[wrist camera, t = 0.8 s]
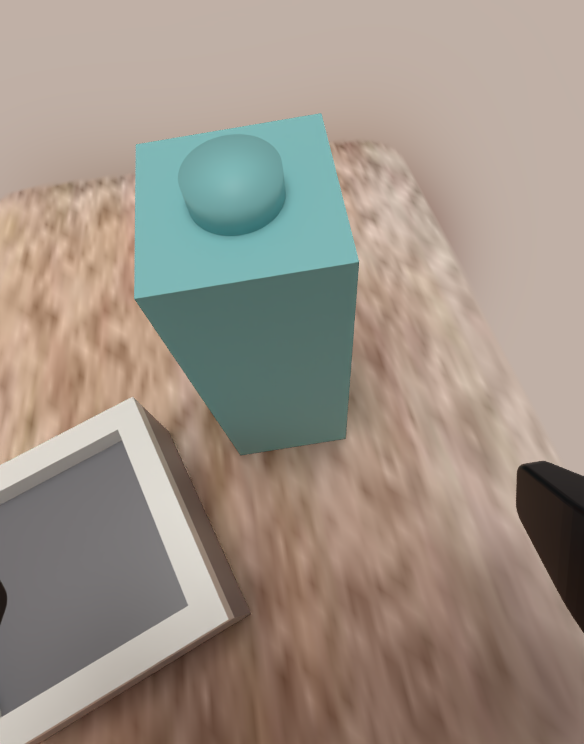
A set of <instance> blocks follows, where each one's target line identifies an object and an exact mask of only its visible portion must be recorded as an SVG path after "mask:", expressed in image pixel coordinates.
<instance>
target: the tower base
mask: <svg viewBox="0 0 584 744" xmlns="http://www.w3.org/2000/svg"><path fill="white" fill-rule="evenodd" d="M0 580H1V582H2V584H3V586H4V588H5V589H6V592H7V607H6V610H5V613H4V616H3V619H2V622H1V625H0V744H39V743H40V742H42V741H44V740H46V739H47V738H49V737H51V736H52V735H54V734H55V733H57V732H59V731H60V730H62V729H64V728H65V727H67V726H68V725H70V724H72V723H73V722H75V721H77V720H78V719H80V718H82V717H83V716H85V715H86V714H88V713H90V712H91V711H93V710H95V709H96V708H98V707H99V706H101V705H103V704H104V703H106V702H108V701H109V700H111V699H113V698H114V697H116V696H117V695H119V694H121V693H122V692H124V691H126V690H127V689H129V688H130V687H132V686H134V685H135V684H137V683H139V682H140V681H142V680H144V679H145V678H147V677H148V676H150V675H152V674H153V673H155V672H157V671H158V670H160V669H161V668H163V667H165V666H166V665H168V664H170V663H171V662H173V661H175V660H176V659H178V658H179V657H181V656H183V655H184V654H186V653H188V652H189V651H191V650H192V649H194V648H196V647H197V646H199V645H201V644H202V643H204V642H206V641H207V640H209V639H210V638H212V637H214V636H215V635H217V634H219V633H220V632H222V631H223V630H225V629H227V628H228V627H230V626H232V625H233V624H235V623H237V622H238V621H240V620H241V619H243V618H245V617H246V616H248V615H250V614H251V613H250V610H249V608H248V606H247V604H246V602H245V599H244V597H243V595H242V593H241V591H240V588H239V586H238V584H237V582H236V579H235V577H234V575H233V573H232V571H231V568H230V566H229V564H228V562H227V560H226V557H225V555H224V553H223V551H222V549H221V546H220V544H219V542H218V540H217V538H216V535H215V533H214V531H213V529H212V526H211V524H210V522H209V520H208V518H207V515H206V513H205V511H204V509H203V507H202V504H201V502H200V500H199V498H198V496H197V493H196V491H195V489H194V487H193V485H192V482H191V480H190V478H189V476H188V474H187V471H186V469H185V467H184V465H183V462H182V460H181V458H180V456H179V454H178V451H177V449H176V447H175V445H174V443H173V440H172V438H171V436H170V434H169V432H168V431H167V430H166V429H165V428H164V427H163V426H162V425H161V424H160V423H159V422H158V421H157V420H156V419H155V418H154V417H153V416H152V415H151V414H150V413H149V412H148V411H147V410H146V409H145V408H144V407H143V406H142V405H141V404H140V403H139V402H138V401H137V400H136V399H134V398H133V397H131V398H129V399H127V400H125V401H123V402H121V403H120V404H118V405H116V406H114V407H112V408H110V409H108V410H106V411H104V412H102V413H100V414H98V415H96V416H94V417H92V418H91V419H89V420H87V421H85V422H83V423H81V424H79V425H77V426H75V427H73V428H71V429H69V430H67V431H65V432H63V433H61V434H60V435H58V436H56V437H54V438H52V439H50V440H48V441H46V442H44V443H42V444H40V445H38V446H36V447H34V448H32V449H30V450H29V451H27V452H25V453H23V454H21V455H19V456H17V457H15V458H13V459H11V460H9V461H7V462H5V463H3V464H1V465H0Z"/></svg>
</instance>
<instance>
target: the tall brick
mask: <svg viewBox="0 0 584 744" xmlns="http://www.w3.org/2000/svg"><path fill="white" fill-rule="evenodd" d="M358 269H359V260H358V256H357V252H356V248H355V244H354V240H353V236H352V232H351V228H350V224H349V220H348V217H347V213H346V209H345V205H344V201H343V197H342V193H341V189H340V185H339V181H338V177H337V173H336V169H335V165H334V161H333V157H332V154H331V150H330V146H329V142H328V138H327V134H326V130H325V126H324V122H323V118H322V114H315V115H308V116H302V117H297V118H291V119H285V120H278V121H273V122H267V123H261V124H255V125H249V126H243V127H238V128H231V129H225V130H219V131H213V132H207V133H201V134H195V135H189V136H184V137H178V138H172V139H166V140H160V141H154V142H148V143H142V144H136V185H135V286H134V299H135V301H136V302H137V303H138V305H139V306H140V308H141V309H142V311H143V312H144V314H145V315H146V317H147V318H148V320H149V321H150V323H151V324H152V326H153V327H154V329H155V330H156V331H157V333H158V334H159V336H160V337H161V339H162V340H163V342H164V343H165V345H166V346H167V348H168V349H169V351H170V352H171V354H172V355H173V357H174V358H175V359H176V361H177V362H178V364H179V365H180V367H181V368H182V370H183V371H184V373H185V374H186V376H187V377H188V379H189V380H190V382H191V383H192V385H193V386H194V387H195V389H196V390H197V392H198V393H199V395H200V396H201V398H202V399H203V401H204V402H205V404H206V405H207V407H208V408H209V410H210V411H211V413H212V414H213V415H214V417H215V418H216V420H217V421H218V423H219V424H220V426H221V427H222V429H223V430H224V432H225V433H226V435H227V436H228V438H229V439H230V441H231V442H232V443H233V445H234V446H235V448H236V449H237V451H238V452H239V454H240V455H246V454H252V453H259V452H265V451H271V450H278V449H284V448H290V447H296V446H303V445H309V444H315V443H321V442H328V441H334V440H340V439H346V426H347V413H348V400H349V387H350V374H351V361H352V347H353V334H354V321H355V308H356V295H357V282H358Z"/></svg>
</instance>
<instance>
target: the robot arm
mask: <svg viewBox="0 0 584 744" xmlns="http://www.w3.org/2000/svg"><path fill="white" fill-rule="evenodd" d="M516 508H517V512H518V516H519V518H520V520H521V522H522V524H523V526H524V528H525V530H526V532H527V534H528V536H529V538H530V539H531V541H532V543H533V545H534V547H535V549H536V551H537V553H538V555H539V557H540V558H541V560H542V562H543V564H544V566H545V568H546V570H547V572H548V574H549V576H550V578H551V579H552V581H553V583H554V585H555V587H556V589H557V591H558V593H559V594H560V596H561V598H562V600H563V602H564V603H565V605H566V607H567V608H568V610H569V611H570V613H571V615H572V616H573V618H574V619H575V621H576V622H577V624H578V625H579V627H580V628H581V630H582V631H583V633H584V476H582V475H579V474H577V473H574V472H571V471H569V470H567V469H564V468H562V467H559V466H557V465H554V464H552V463H549V462H546V461H538V462H532V463H526V464H522V465H521V466H519V467H518V470H517V487H516ZM6 607H7V592H6V589H5V588H4V586H3V584H2V582H1V580H0V625H1V622H2V619H3V616H4V613H5V610H6Z"/></svg>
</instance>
